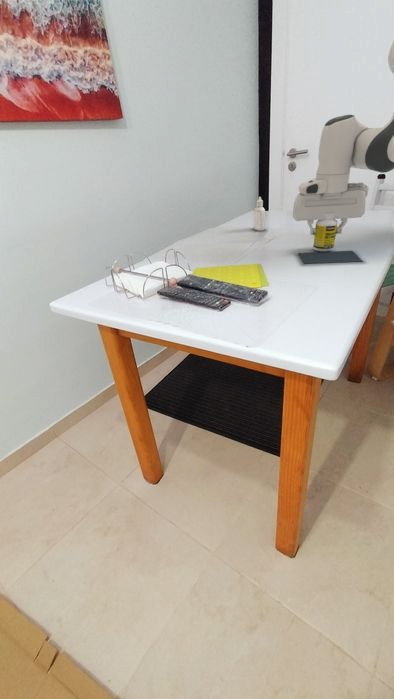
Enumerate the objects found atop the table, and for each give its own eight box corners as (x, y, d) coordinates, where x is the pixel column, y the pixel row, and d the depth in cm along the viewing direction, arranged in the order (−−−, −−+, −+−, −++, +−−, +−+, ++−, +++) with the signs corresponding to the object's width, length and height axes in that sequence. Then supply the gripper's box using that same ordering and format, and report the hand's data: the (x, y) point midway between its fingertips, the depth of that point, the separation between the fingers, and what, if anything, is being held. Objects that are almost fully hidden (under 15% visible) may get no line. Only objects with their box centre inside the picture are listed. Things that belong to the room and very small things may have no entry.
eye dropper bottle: (253, 231, 133) (253, 198, 126) (253, 227, 137) (254, 196, 131) (264, 230, 132) (265, 197, 126) (264, 227, 137) (265, 195, 130)
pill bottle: (324, 253, 102) (329, 215, 97) (308, 249, 107) (312, 212, 101) (338, 249, 105) (343, 211, 99) (322, 245, 110) (326, 209, 104)
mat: (351, 251, 103) (352, 250, 103) (362, 261, 95) (362, 261, 95) (298, 253, 105) (298, 253, 105) (304, 264, 97) (304, 263, 97)
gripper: (366, 180, 98) (357, 229, 105) (293, 185, 100) (290, 233, 107) (373, 183, 92) (363, 234, 100) (297, 188, 95) (293, 238, 102)
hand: (325, 234), depth 104 cm, fingers closed on pill bottle, 6 cm apart
